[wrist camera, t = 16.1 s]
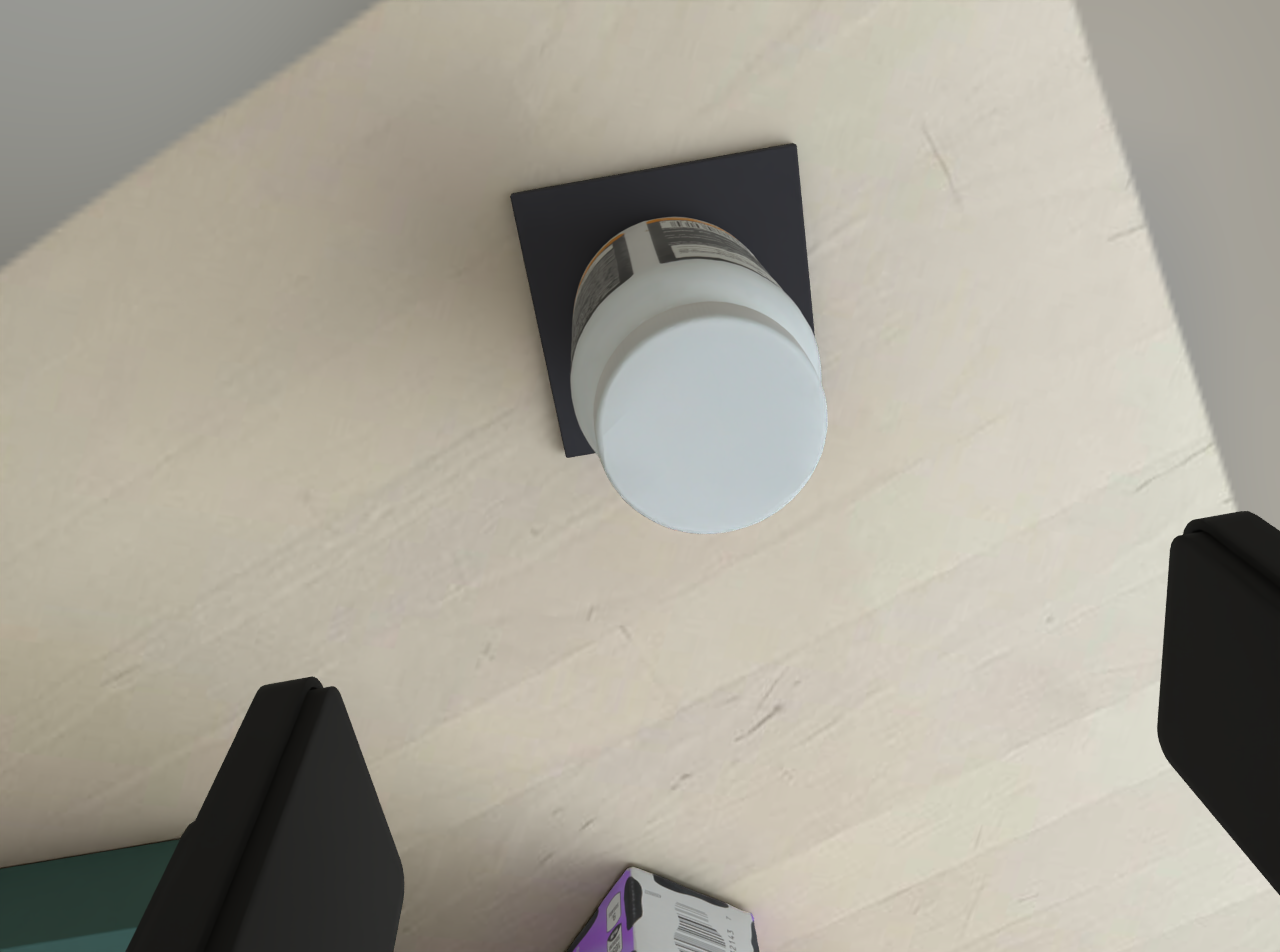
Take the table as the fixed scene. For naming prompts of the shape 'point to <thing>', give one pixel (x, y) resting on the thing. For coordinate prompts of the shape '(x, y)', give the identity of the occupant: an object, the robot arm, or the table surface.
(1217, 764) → the robot arm
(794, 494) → the pill bottle
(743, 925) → the candy box
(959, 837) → the table surface
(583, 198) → the mat
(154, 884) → the green square frame
